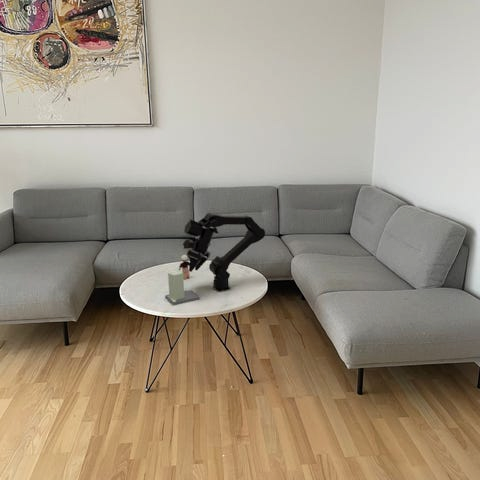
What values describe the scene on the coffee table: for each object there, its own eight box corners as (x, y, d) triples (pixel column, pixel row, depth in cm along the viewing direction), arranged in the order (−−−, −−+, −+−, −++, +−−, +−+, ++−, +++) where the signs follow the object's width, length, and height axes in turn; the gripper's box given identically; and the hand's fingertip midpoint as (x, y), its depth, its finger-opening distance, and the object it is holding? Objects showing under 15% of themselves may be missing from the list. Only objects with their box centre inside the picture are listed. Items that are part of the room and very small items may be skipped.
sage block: (179, 294, 205) (177, 270, 202) (184, 298, 202) (183, 273, 198) (169, 297, 203) (167, 272, 199) (174, 300, 199) (173, 275, 196)
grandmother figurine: (188, 275, 234) (186, 252, 231) (193, 277, 232) (192, 253, 228) (177, 279, 228) (175, 256, 225) (182, 281, 226) (181, 257, 223)
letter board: (191, 292, 212) (191, 289, 212) (199, 299, 203) (199, 296, 203) (165, 297, 206) (165, 294, 206) (172, 305, 198) (172, 302, 197)
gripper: (194, 233, 216) (183, 263, 218) (182, 233, 198) (170, 265, 199) (215, 241, 214) (204, 271, 216) (205, 242, 196) (193, 274, 197)
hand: (193, 270), depth 207 cm, fingers open, 9 cm apart
